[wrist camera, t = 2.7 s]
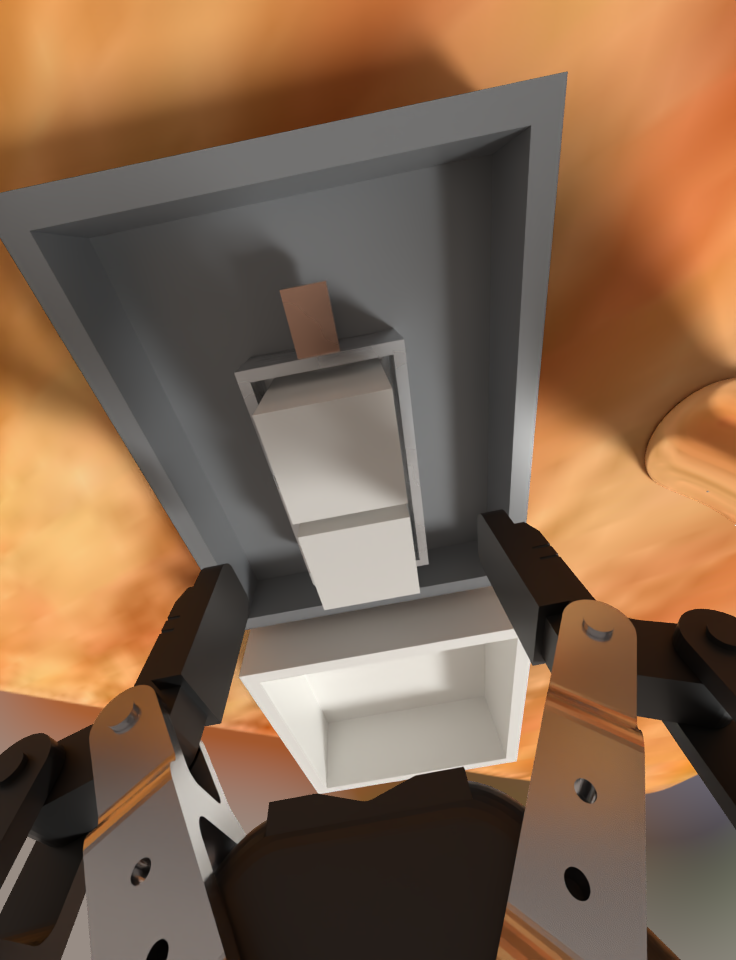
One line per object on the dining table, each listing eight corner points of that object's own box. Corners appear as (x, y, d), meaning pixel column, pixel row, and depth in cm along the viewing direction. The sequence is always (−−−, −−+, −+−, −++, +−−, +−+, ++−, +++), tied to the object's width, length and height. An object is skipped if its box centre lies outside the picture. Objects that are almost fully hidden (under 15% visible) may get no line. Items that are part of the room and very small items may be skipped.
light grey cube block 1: (274, 377, 13) (252, 415, 10) (378, 357, 13) (392, 388, 10) (302, 467, 15) (292, 524, 12) (391, 450, 15) (407, 503, 12)
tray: (65, 215, 11) (-24, 198, 8) (508, 122, 11) (567, 71, 8) (251, 581, 21) (238, 631, 18) (495, 537, 20) (520, 580, 17)
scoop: (230, 299, 12) (208, 305, 10) (386, 267, 12) (396, 266, 10) (315, 550, 19) (313, 585, 17) (418, 531, 18) (428, 564, 16)
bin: (258, 594, 21) (238, 676, 17) (494, 552, 21) (535, 624, 17) (321, 718, 30) (318, 794, 25) (490, 689, 29) (516, 761, 25)
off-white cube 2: (306, 478, 16) (297, 537, 12) (393, 462, 15) (409, 517, 12) (326, 544, 18) (324, 610, 14) (403, 530, 18) (420, 593, 14)
